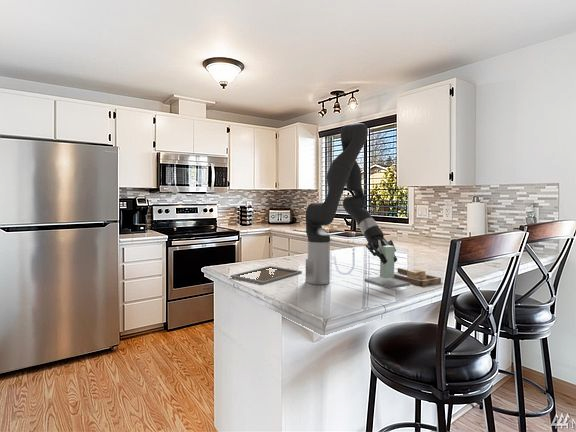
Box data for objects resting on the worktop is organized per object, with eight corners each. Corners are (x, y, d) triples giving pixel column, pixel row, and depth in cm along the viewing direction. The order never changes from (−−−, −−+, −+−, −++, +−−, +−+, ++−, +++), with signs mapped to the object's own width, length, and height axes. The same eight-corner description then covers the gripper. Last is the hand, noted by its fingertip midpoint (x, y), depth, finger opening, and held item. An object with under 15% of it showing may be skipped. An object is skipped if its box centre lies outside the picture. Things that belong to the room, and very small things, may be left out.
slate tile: (388, 288, 140) (388, 286, 140) (364, 280, 152) (364, 278, 152) (410, 284, 145) (410, 282, 145) (385, 277, 158) (385, 275, 158)
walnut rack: (421, 286, 143) (421, 281, 143) (380, 274, 163) (380, 270, 163) (440, 282, 149) (441, 278, 149) (398, 272, 169) (399, 268, 169)
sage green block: (385, 278, 146) (385, 247, 145) (379, 276, 149) (380, 246, 148) (393, 277, 148) (394, 246, 148) (388, 275, 151) (389, 245, 150)
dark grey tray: (230, 275, 155) (273, 264, 179) (230, 279, 155) (273, 268, 179) (263, 282, 144) (305, 270, 167) (263, 286, 144) (305, 273, 168)
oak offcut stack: (415, 283, 148) (416, 272, 148) (406, 280, 153) (406, 270, 152) (427, 281, 152) (427, 271, 152) (417, 279, 156) (417, 268, 156)
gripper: (362, 225, 150) (382, 258, 140) (387, 224, 157) (408, 255, 148) (354, 236, 155) (373, 269, 145) (378, 234, 162) (398, 265, 152)
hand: (390, 262), depth 147 cm, fingers closed on sage green block, 5 cm apart
